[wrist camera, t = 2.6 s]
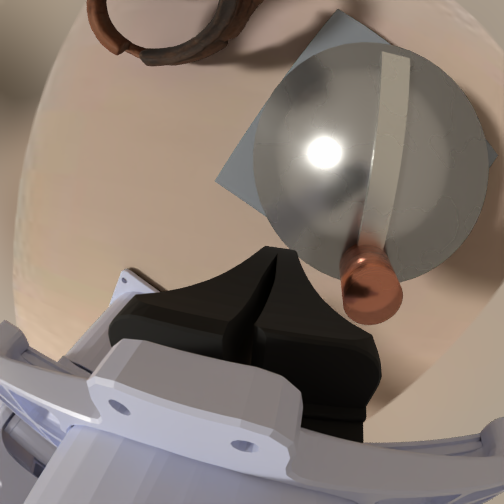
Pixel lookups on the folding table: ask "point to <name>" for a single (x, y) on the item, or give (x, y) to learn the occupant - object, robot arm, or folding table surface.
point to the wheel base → (241, 160)
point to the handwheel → (370, 169)
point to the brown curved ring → (203, 45)
